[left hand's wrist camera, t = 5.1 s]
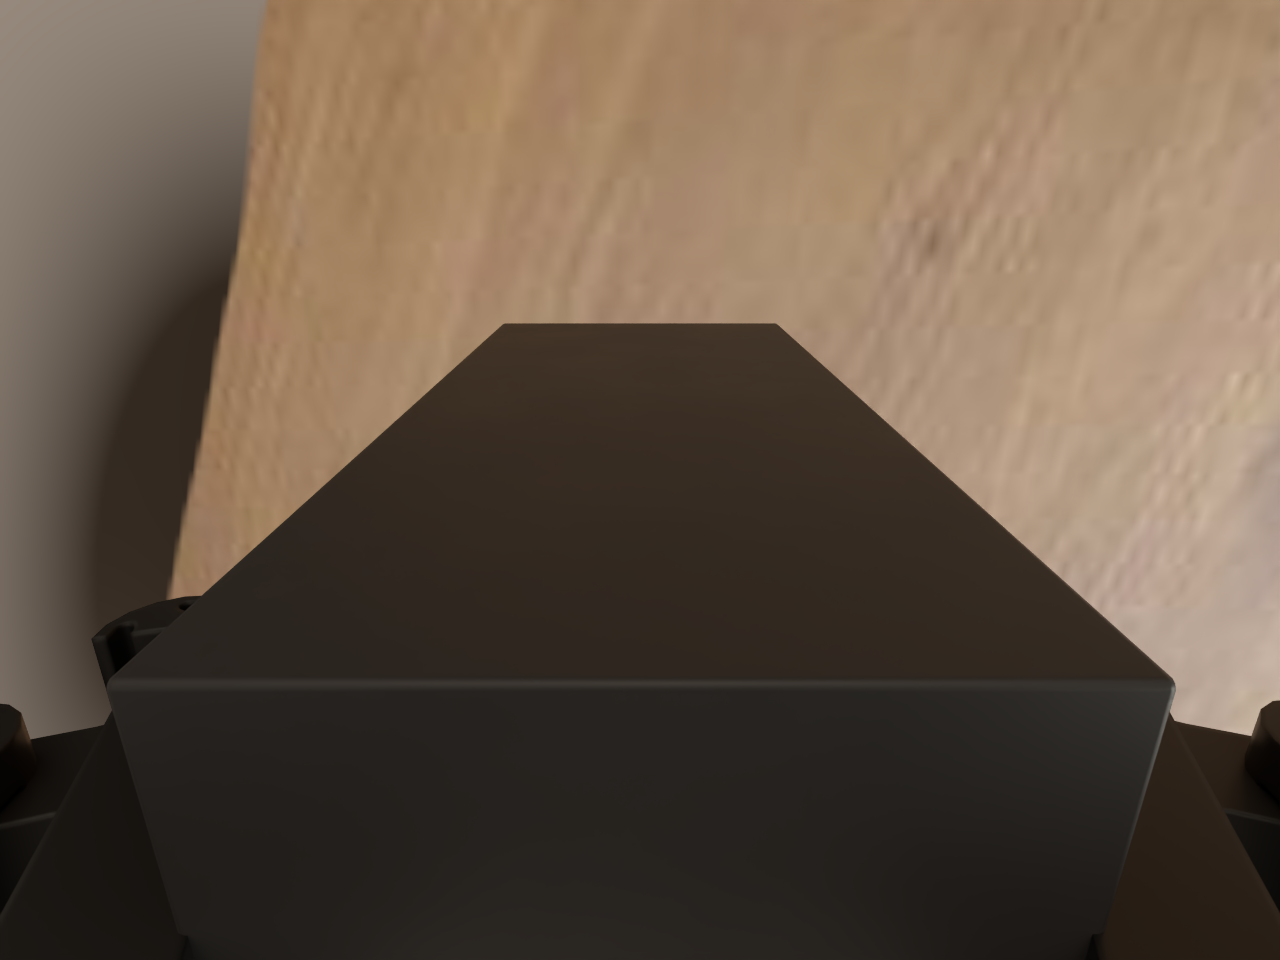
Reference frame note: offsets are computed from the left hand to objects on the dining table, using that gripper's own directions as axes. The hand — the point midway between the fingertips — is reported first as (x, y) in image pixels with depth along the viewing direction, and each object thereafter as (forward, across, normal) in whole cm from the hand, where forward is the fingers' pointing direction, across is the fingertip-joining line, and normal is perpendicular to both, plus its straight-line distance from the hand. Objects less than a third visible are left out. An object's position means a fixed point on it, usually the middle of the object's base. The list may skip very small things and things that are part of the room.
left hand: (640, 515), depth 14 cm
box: (+3, 0, -10) cm, 11 cm away
